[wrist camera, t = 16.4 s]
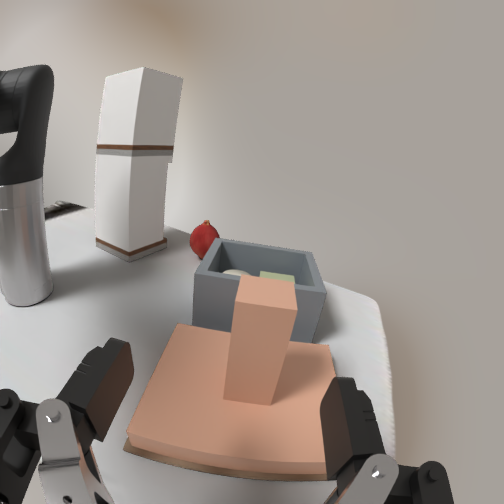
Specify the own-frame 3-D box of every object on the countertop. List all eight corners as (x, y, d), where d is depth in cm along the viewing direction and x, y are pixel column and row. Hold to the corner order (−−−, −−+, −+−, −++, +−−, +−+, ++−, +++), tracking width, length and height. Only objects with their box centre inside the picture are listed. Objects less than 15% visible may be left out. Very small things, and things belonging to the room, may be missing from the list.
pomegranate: (186, 253, 56) (188, 215, 53) (213, 252, 59) (216, 215, 56) (192, 265, 51) (195, 224, 48) (221, 264, 54) (226, 224, 51)
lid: (131, 445, 17) (96, 330, 12) (177, 339, 31) (179, 238, 27) (340, 472, 17) (418, 374, 12) (322, 360, 31) (354, 265, 26)
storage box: (192, 329, 34) (194, 273, 31) (211, 283, 46) (215, 237, 43) (309, 347, 34) (326, 293, 31) (301, 297, 46) (311, 252, 43)
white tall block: (166, 247, 58) (183, 78, 45) (129, 262, 48) (143, 67, 36) (131, 234, 62) (144, 83, 49) (96, 246, 53) (106, 76, 40)
